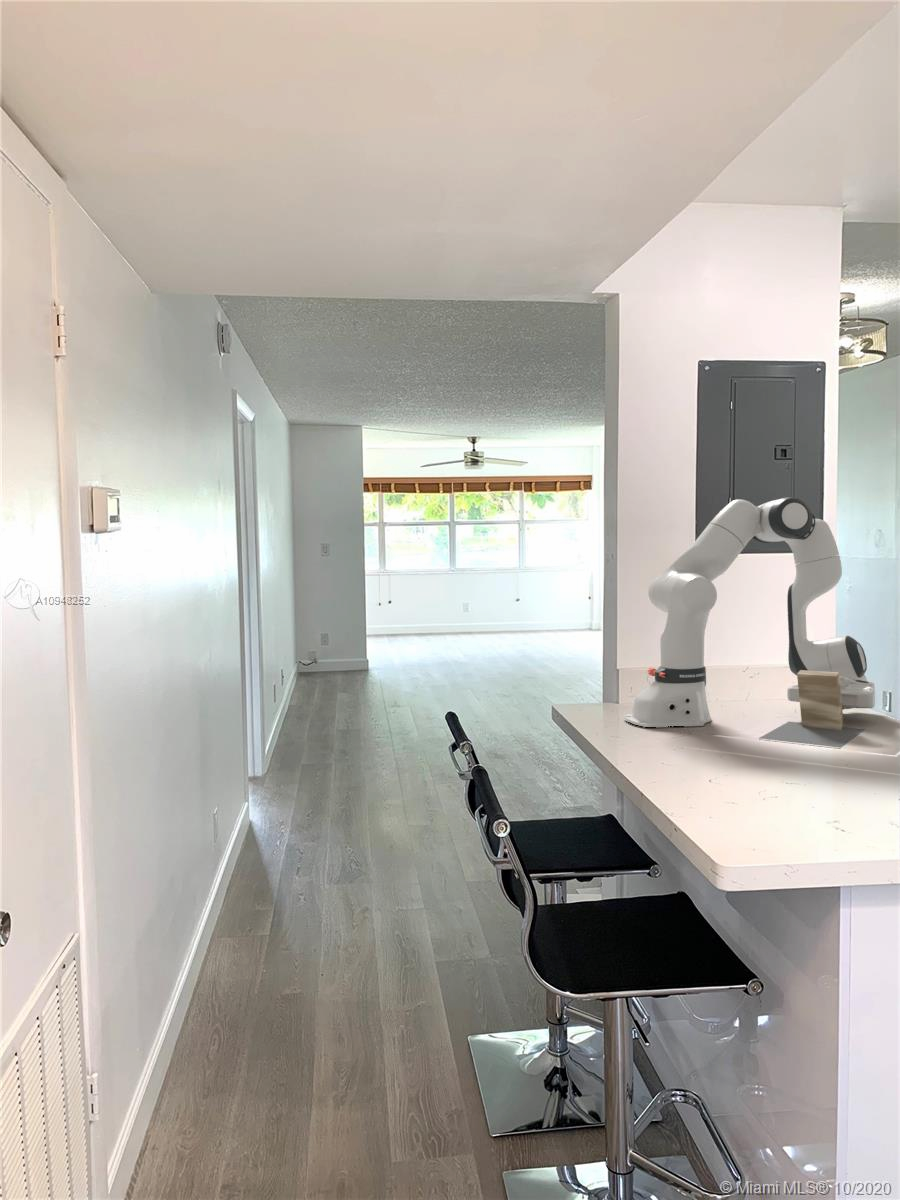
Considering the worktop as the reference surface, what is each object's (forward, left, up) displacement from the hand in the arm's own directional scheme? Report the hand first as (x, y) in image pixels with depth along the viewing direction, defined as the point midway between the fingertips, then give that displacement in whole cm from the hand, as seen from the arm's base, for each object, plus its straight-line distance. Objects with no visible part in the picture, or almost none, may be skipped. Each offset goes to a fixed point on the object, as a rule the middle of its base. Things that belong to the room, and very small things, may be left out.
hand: (822, 700), depth 206 cm
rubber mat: (-6, -5, -7) cm, 11 cm away
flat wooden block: (0, 0, -6) cm, 6 cm away
